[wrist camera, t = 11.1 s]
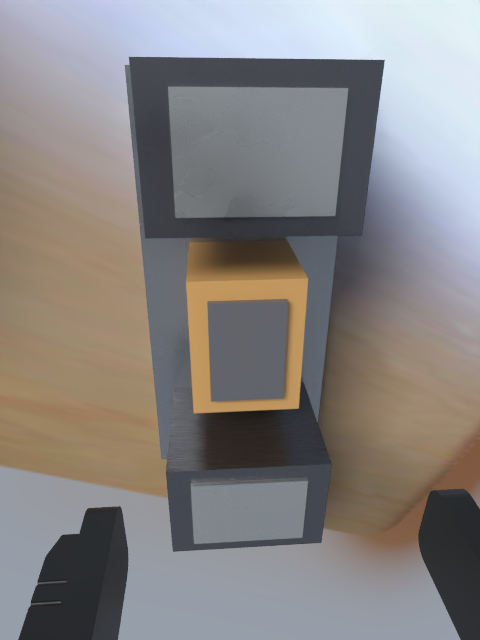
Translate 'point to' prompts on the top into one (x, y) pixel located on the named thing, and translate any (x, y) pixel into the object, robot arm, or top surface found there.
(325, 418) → the top surface
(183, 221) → the rail plate
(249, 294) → the orange module
